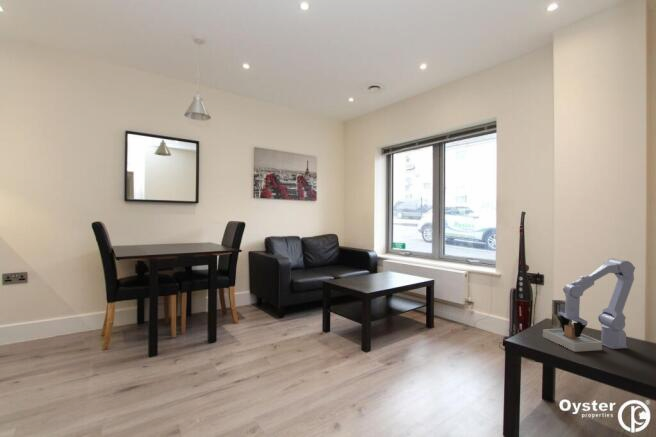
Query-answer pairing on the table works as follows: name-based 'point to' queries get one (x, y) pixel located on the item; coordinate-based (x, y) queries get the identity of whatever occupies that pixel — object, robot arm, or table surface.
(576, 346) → the tray
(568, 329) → the peg
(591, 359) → the table surface
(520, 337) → the table surface
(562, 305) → the coffee box
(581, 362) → the table surface
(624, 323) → the robot arm
